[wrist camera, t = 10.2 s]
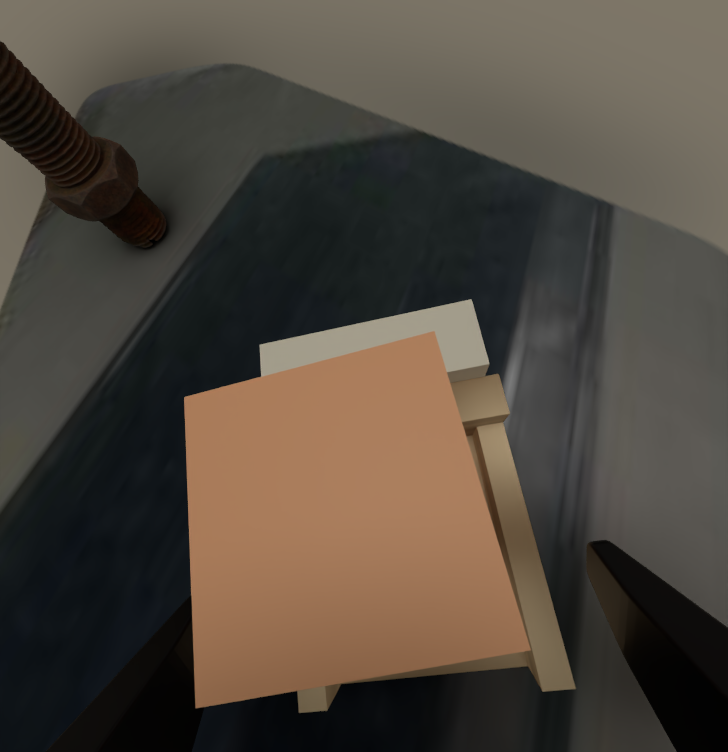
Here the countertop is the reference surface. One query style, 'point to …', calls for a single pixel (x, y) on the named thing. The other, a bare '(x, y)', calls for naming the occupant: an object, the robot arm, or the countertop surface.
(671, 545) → the countertop surface
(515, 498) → the cradle
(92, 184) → the bolt
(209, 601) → the orange rectangular block
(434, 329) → the stop block
